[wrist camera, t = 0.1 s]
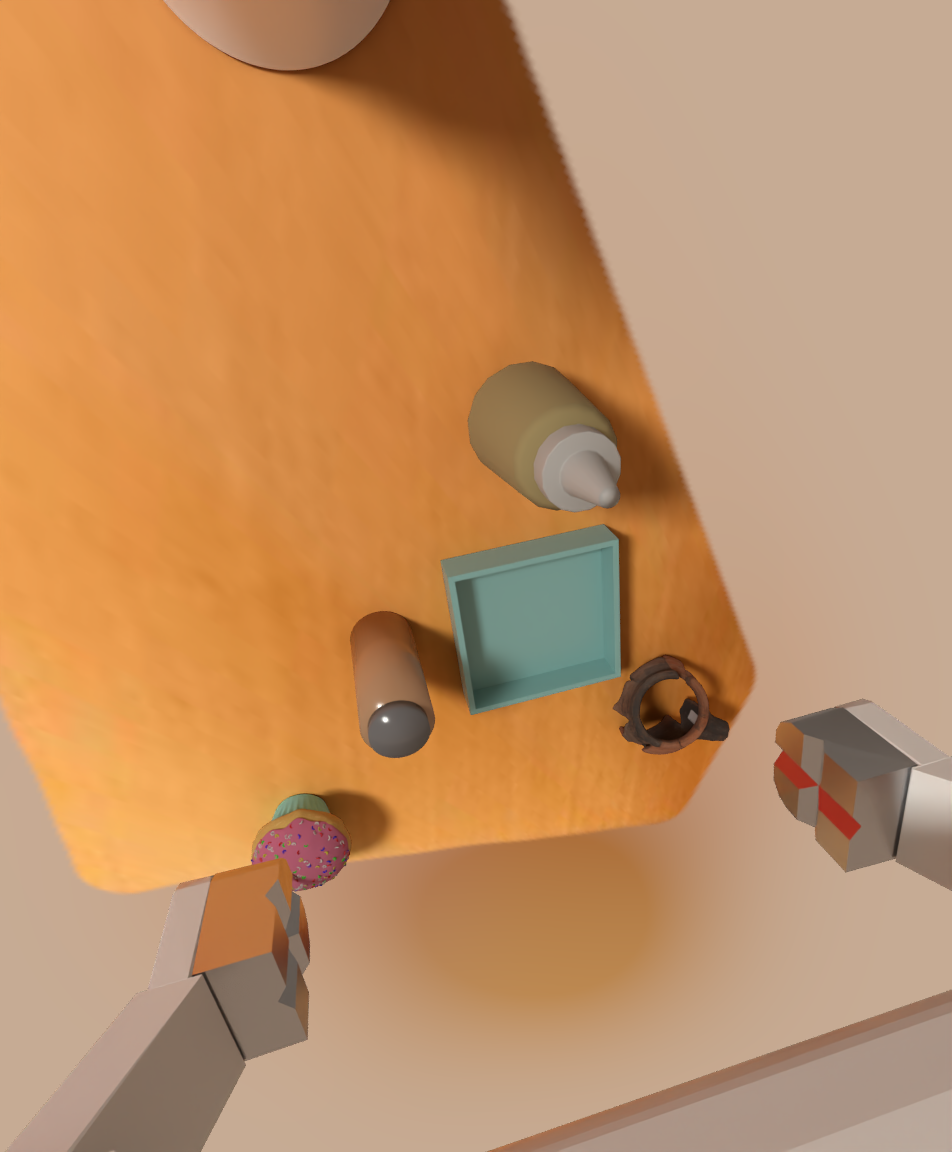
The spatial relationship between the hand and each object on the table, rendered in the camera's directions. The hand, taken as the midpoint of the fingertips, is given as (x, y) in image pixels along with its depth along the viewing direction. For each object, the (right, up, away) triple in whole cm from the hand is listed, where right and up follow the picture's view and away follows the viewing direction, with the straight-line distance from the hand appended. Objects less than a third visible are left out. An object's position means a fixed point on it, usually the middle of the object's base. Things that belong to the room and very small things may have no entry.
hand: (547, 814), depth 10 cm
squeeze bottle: (+1, +16, +37) cm, 41 cm away
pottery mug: (+17, -8, +54) cm, 57 cm away
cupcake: (-18, -18, +51) cm, 57 cm away
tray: (+4, +1, +46) cm, 46 cm away
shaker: (-9, -1, +44) cm, 45 cm away
